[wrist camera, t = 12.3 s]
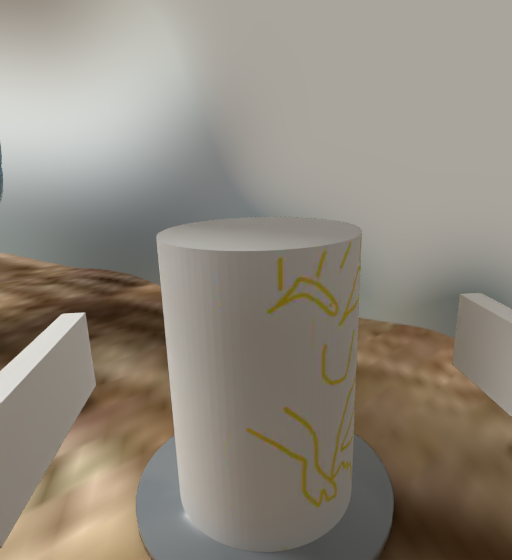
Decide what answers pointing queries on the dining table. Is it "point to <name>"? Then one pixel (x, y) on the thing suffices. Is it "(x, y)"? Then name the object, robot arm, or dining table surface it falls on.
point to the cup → (262, 374)
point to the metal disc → (216, 556)
